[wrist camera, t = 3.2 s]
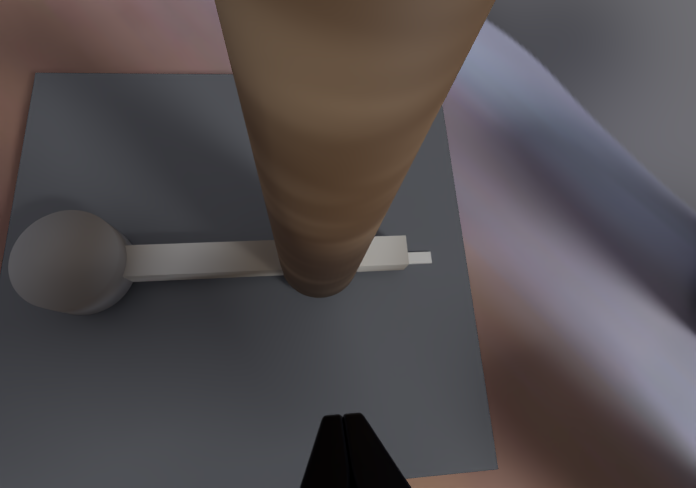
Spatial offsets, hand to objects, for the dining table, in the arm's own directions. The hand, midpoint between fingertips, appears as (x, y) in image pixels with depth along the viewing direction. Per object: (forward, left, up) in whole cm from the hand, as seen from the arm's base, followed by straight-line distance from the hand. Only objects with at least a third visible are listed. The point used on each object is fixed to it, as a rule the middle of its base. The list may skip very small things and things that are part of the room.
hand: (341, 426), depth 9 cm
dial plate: (+2, +6, -9) cm, 11 cm away
